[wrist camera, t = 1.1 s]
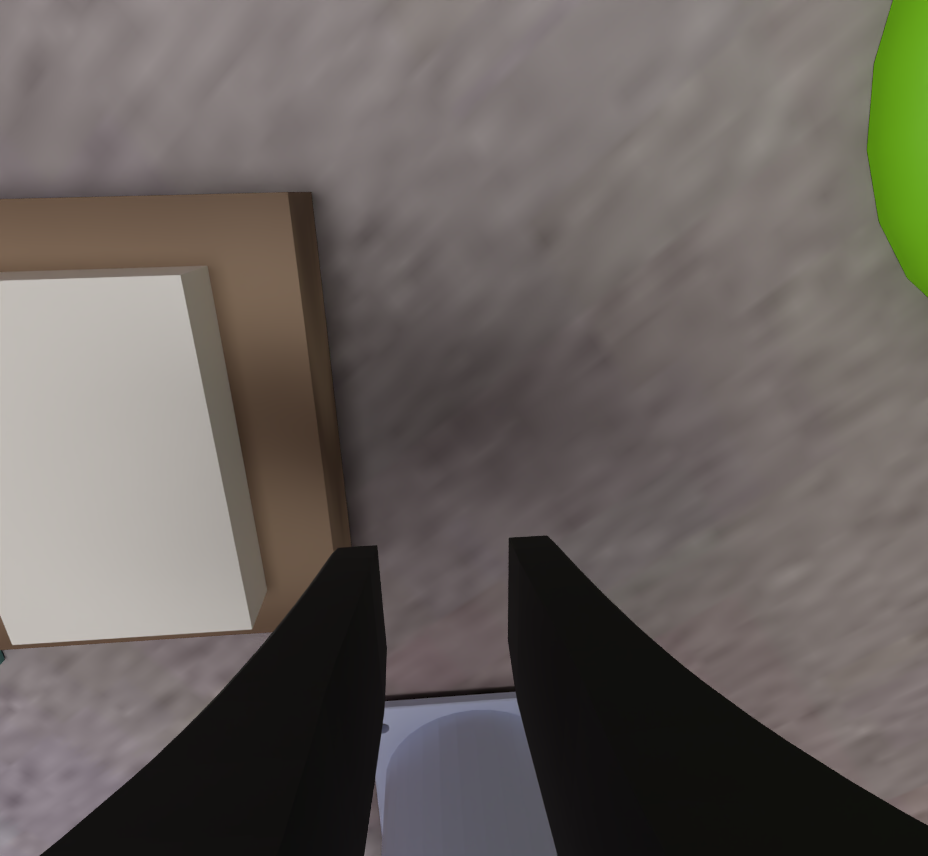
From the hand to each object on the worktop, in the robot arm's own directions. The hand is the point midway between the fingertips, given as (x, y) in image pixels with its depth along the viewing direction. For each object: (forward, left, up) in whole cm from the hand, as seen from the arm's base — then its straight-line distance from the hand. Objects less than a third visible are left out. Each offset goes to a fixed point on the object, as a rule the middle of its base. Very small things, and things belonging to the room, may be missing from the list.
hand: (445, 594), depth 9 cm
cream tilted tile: (0, +8, -6) cm, 10 cm away
